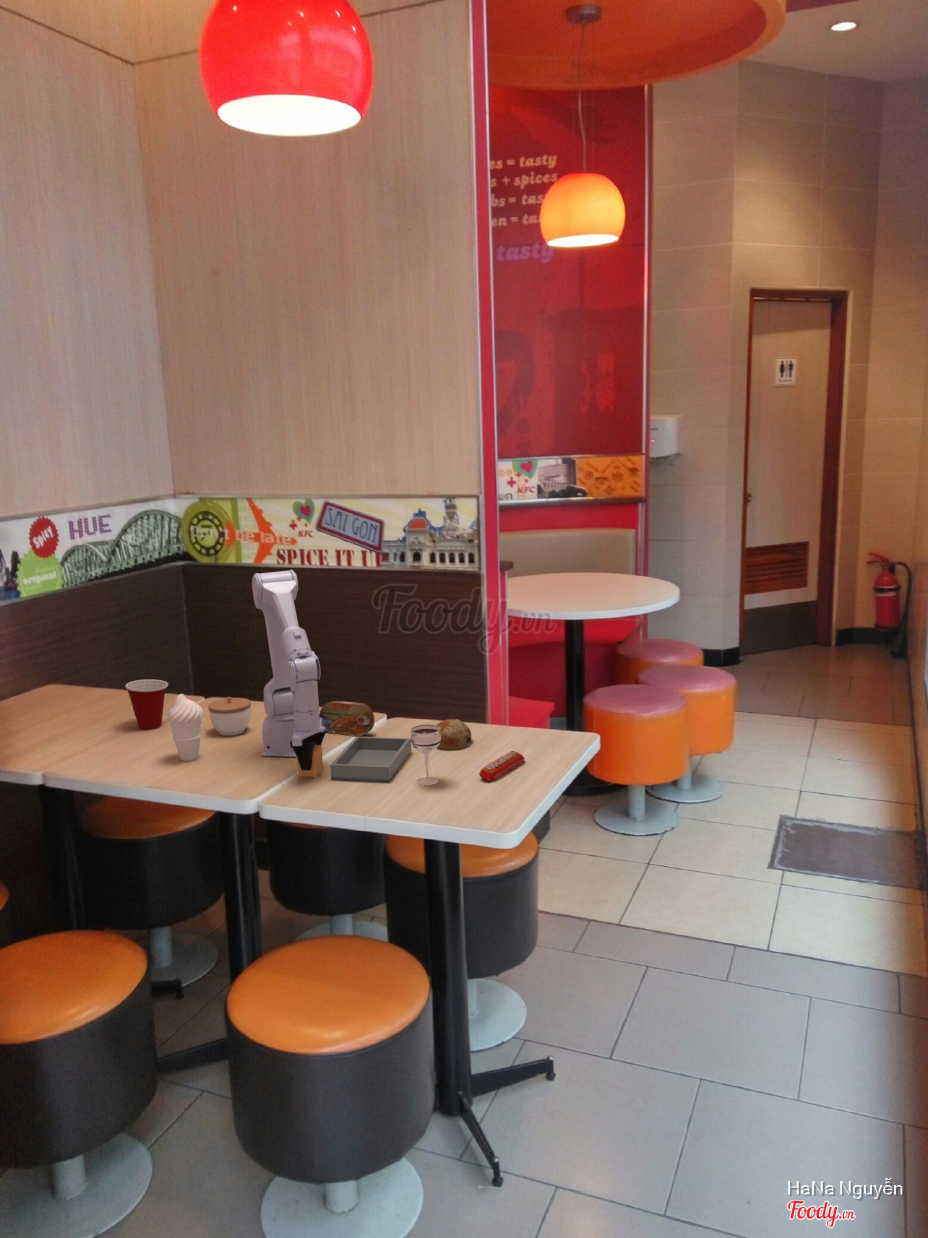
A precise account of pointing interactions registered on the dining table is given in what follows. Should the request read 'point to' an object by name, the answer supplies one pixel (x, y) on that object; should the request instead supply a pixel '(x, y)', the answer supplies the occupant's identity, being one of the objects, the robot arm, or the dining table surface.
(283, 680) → the robot arm
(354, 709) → the tin
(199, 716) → the soft serve ice cream cone
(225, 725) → the lidded jar
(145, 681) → the plastic cup
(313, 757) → the orange block
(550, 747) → the dining table surface
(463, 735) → the bread roll
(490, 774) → the candy bar
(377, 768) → the serving tray
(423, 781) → the wineglass
